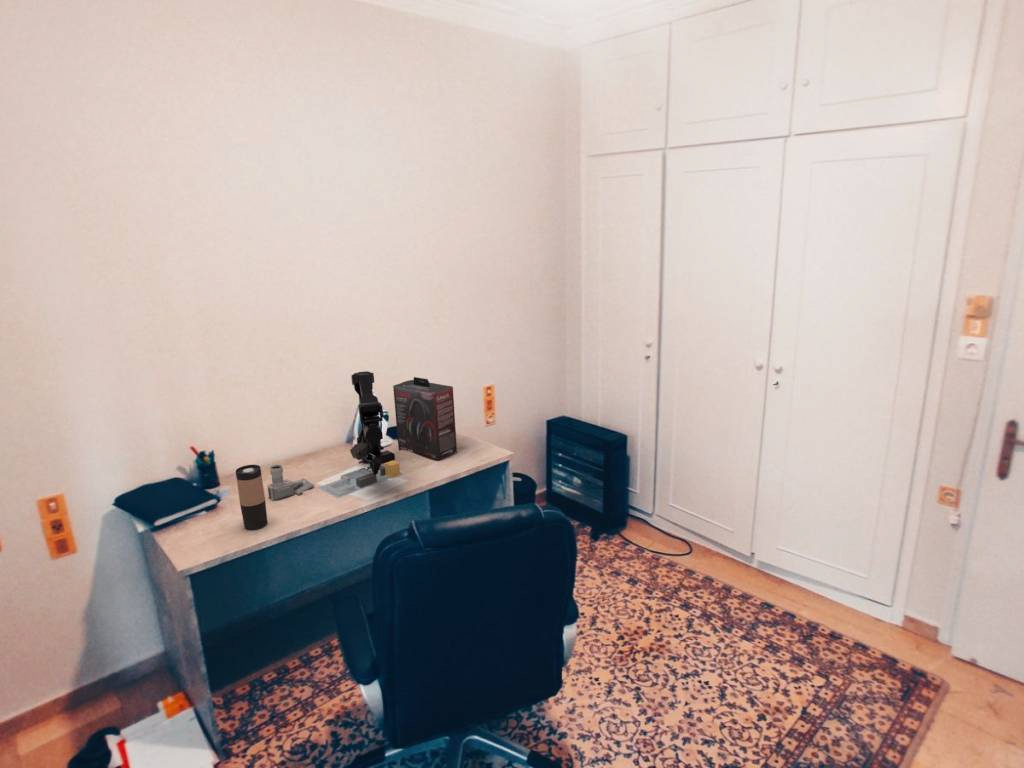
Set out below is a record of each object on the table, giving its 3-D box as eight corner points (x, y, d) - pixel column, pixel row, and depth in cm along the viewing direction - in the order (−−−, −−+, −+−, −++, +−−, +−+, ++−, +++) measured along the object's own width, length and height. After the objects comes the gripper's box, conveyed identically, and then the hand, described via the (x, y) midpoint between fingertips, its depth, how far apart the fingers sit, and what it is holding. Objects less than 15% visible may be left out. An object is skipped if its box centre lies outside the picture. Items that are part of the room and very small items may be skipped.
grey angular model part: (262, 466, 223) (301, 455, 233) (265, 496, 226) (304, 484, 236) (272, 472, 217) (312, 461, 227) (275, 503, 220) (315, 491, 230)
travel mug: (248, 520, 207) (239, 465, 202) (271, 519, 208) (263, 463, 203) (240, 531, 200) (231, 474, 195) (264, 529, 201) (256, 472, 196)
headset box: (396, 450, 269) (391, 376, 260) (417, 442, 278) (412, 370, 270) (438, 462, 254) (433, 384, 246) (458, 452, 264) (454, 378, 256)
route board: (317, 489, 230) (316, 480, 229) (382, 467, 250) (381, 458, 249) (337, 500, 221) (336, 490, 220) (403, 476, 241) (402, 467, 240)
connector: (385, 475, 240) (384, 463, 238) (393, 472, 242) (393, 460, 241) (391, 478, 237) (390, 465, 236) (400, 474, 240) (399, 462, 238)
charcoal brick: (356, 485, 231) (355, 478, 230) (372, 480, 235) (371, 472, 235) (361, 488, 228) (360, 480, 228) (376, 482, 233) (376, 474, 233)
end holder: (326, 490, 227) (326, 485, 227) (343, 484, 232) (343, 479, 232) (338, 496, 222) (337, 491, 221) (355, 489, 227) (355, 485, 226)
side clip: (341, 481, 235) (340, 475, 234) (364, 473, 242) (363, 467, 241) (348, 485, 231) (347, 478, 231) (371, 476, 239) (370, 470, 238)
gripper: (338, 434, 223) (342, 474, 227) (367, 446, 210) (371, 488, 214) (364, 426, 231) (368, 465, 235) (394, 437, 218) (397, 478, 222)
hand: (375, 474), depth 226 cm, fingers closed
